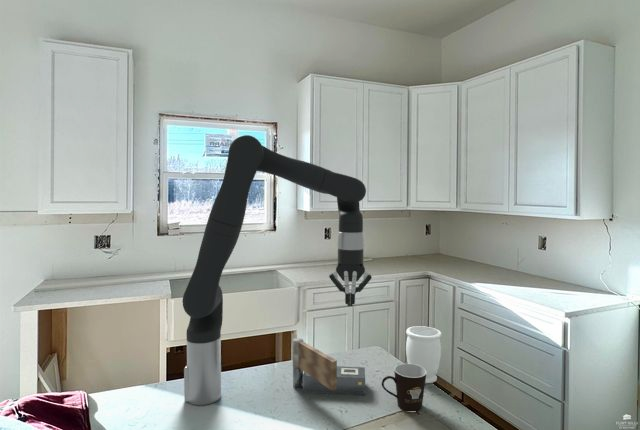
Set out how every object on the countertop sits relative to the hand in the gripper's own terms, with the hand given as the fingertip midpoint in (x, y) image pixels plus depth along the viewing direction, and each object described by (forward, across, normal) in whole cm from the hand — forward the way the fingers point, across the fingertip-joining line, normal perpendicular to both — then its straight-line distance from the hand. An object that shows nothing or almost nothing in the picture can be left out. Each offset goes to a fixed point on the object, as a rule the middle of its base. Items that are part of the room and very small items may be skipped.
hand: (350, 305), depth 115 cm
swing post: (+25, -16, 0) cm, 29 cm away
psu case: (+25, -4, 0) cm, 25 cm away
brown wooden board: (+19, -10, -6) cm, 22 cm away
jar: (+25, +23, +9) cm, 35 cm away
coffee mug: (+25, +15, -8) cm, 30 cm away
